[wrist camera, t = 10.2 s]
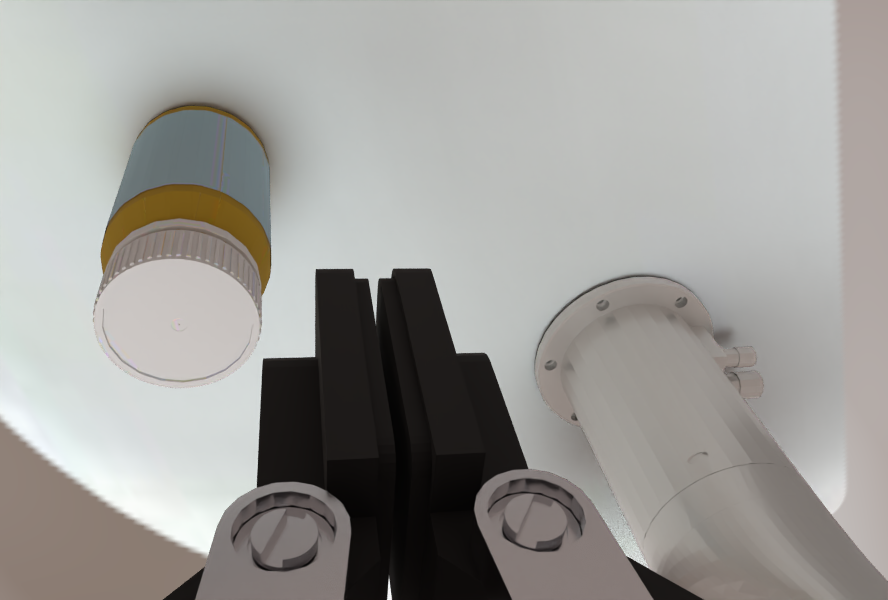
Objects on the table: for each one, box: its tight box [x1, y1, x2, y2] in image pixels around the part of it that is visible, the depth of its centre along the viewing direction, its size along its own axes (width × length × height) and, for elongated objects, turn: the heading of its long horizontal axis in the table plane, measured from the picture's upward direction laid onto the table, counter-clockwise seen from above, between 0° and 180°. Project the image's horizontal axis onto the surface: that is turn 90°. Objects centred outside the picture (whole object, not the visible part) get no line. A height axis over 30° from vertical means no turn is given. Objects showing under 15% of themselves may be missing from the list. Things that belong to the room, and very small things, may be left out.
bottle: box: [93, 106, 271, 388], centre depth 37 cm, size 7×7×15 cm
